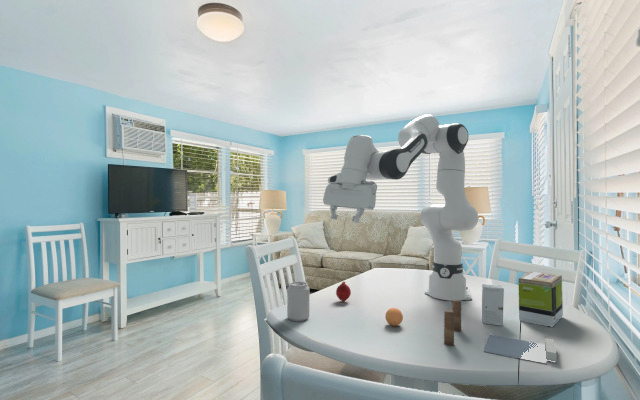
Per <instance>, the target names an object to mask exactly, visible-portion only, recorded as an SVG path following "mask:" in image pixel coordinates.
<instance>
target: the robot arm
mask: <svg viewBox="0 0 640 400" xmlns="http://www.w3.org/2000/svg"><path fill="white" fill-rule="evenodd" d="M397 136H398V137H397V138H398V140H397V141H398V144H399V145H400V148H393V149H389V150H383V151H379V150H378V149H377V147H375V145H374V142H373V137H371V136H370V135H365V134H357V135H353V136H351V137H350V138H349V140H348V143H347V145H346V148H345V152H344V157H343V159H344V160H343V161H344V162H343V166H342V168H341V170H340V172H337V174H334V175H331V176H329V177H328V178H327V183H328V184H327V185H326V187H325V190H324V194H323V199H322V202H323V205H325V206H327V207H329V210H330V219H331V220H332V221H333V220H334V221H337V220H338V216H339V215H338V214H337V210H338V208H345V209H352V210H353V209H354V210H355V209H356V213H355V215H353V216H352V220H351V222H353V223H355V224H356V223H358V224H359V223H360V218H361V217H362V216H363V215H364V213H365V210H366V211H372V210H374V209H375V207H376V202H377V190H378V185H377V183H376V182H375V181H374V180H400V179H402V178H404V176H405V175H406V174H407V172H408V170H409V168H410V166H412V164H413V163H414V161H415V160H416V159H418V157H419V156H420V155H421V154H425V155H431V154H438V155H439V157H438V162H437V163H438V164H437V171H436V185H435V188H436V190H437V192H438V193H439V194H441V195H442V196H443V198H444V202H445V203H433V204H429V205H426V206H424V207H423V208H422V209H421V211H420V213H419V214H420V215H419V216H420V221H421V224H422V225H423V226H424V227H425V228H426V229H427V231H428V232H429V234H430V238H431V240H432V246H433V262H432V272H431V273H430V274H429V276H428V289H426V290H424V294H425V295H428V296H430V297H431V298H435V299H439V300H441V301H442V300H444V301H452V300H460V301H464V300H465V301H468V300H469V301H470V300H472V293H471V292H470V291H471V290H470V289H469V287H468V286H467V279H466V277H465V276H464V274H463V273H464V265H463V263H462V261H463V260H462V259H463V258H462V255H463V254H462V253H463V251H462V249H463V248H462V245H461V242H459V240H457V239H456V238H455V237H454V236H453V233H452V231H455V232H456V231H457V232H458V231H459V232H464V231H470V230H473V229H475V227H476V226H477V225H478V222H479V214H478V210H477V209H476V208H475V207H474V206H473V205H472V204H471V203H470V202H469V200H468V198H467V195H466V192H465V179H466V178H465V174H466V159H465V152H464V150H465V148H466V146H467V145H468V141H469V132H468V129H467V128H466V126H465V125H464V124H462V123H457V122H456V123H451V124H444V125H443V124H442V125H440V121H439V119H437V117H435V116H433V115H432V114H424V115H420V116H418V117H416V118H415V119H413V120H411V121H410V122H409V123H407V124H405V125H404V126H403V127H402V129H401V128H400V131H399V132H398V134H397ZM368 180H370V181H368ZM372 180H373V181H372Z"/></svg>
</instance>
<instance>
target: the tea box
mask: <svg viewBox="0 0 640 400" xmlns="http://www.w3.org/2000/svg"><path fill="white" fill-rule="evenodd" d="M563 303H564V302H563V275H560V274H552V273H544V272H536V271H534V272H533V271H530V272H528V273H527V274H526V273H525V274H524V275H522V276H520V277H519V278H518V320H519V322H520V321H521V322H524V321H525V323H529V322H530V324H533V323H535V324H534V325H538V324H539V326H542V325H544V326H543V327H547V326H550V327H549V328H553V327H554V326H555V325H557V323H558V322H559V321H560V320H561V319H562V318H563V317H564V311H563V310H564V307H563V305H564V304H563ZM562 316H563V317H562ZM561 317H562V318H561ZM560 318H561V319H560ZM559 319H560V320H559Z"/></svg>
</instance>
